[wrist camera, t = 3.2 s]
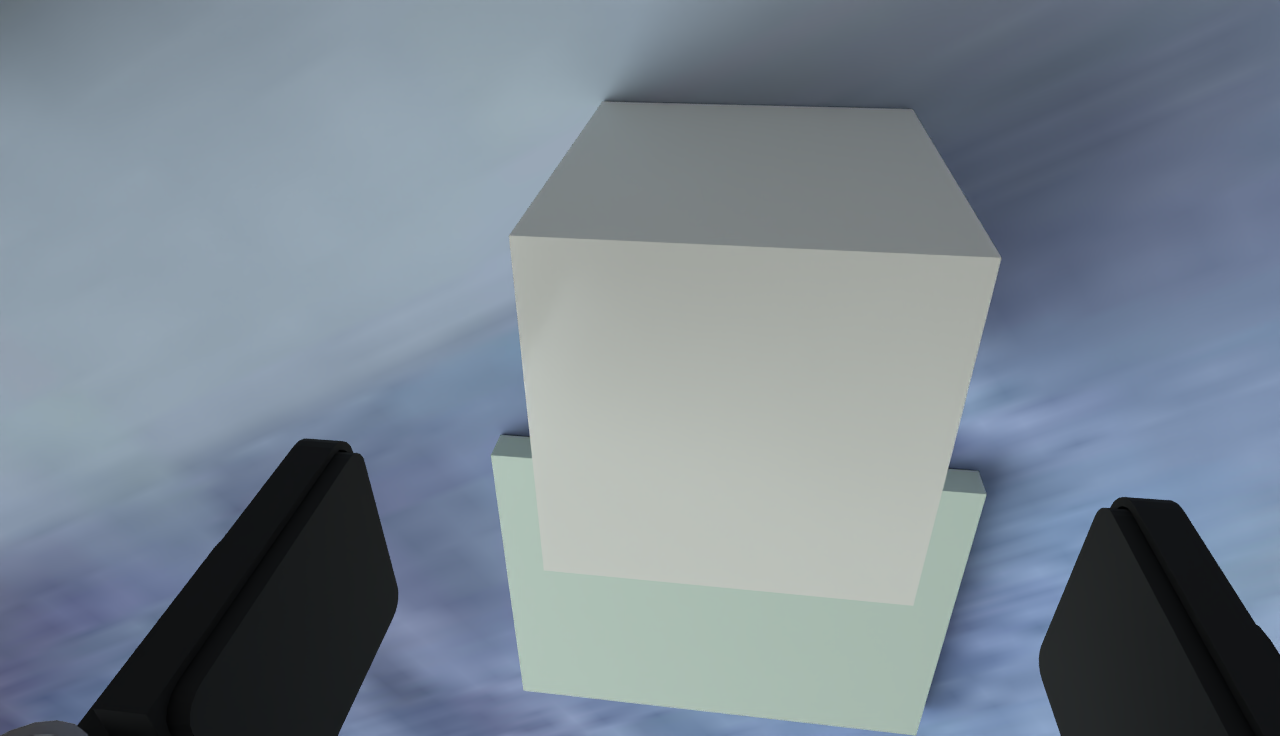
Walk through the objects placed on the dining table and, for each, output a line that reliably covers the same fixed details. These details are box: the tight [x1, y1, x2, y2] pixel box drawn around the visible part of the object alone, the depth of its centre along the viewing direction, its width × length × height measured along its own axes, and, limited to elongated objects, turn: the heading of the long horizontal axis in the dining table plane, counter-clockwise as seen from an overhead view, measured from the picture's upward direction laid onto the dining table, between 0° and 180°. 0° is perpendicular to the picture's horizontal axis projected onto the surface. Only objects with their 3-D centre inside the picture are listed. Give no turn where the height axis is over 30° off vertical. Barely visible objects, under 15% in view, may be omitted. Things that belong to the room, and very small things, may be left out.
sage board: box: [491, 435, 987, 735], centre depth 26 cm, size 14×11×1 cm
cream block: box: [509, 102, 1001, 606], centre depth 17 cm, size 7×7×8 cm
